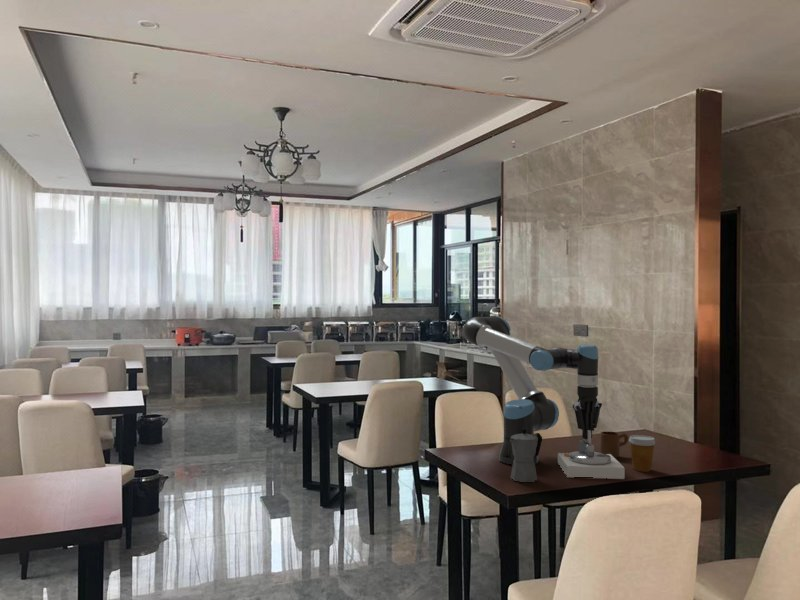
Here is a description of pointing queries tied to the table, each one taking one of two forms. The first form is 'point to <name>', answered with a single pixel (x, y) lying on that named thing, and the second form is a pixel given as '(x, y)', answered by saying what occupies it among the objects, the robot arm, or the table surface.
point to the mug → (612, 443)
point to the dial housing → (591, 468)
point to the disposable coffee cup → (642, 452)
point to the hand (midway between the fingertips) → (587, 447)
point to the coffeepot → (525, 456)
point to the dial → (588, 455)
